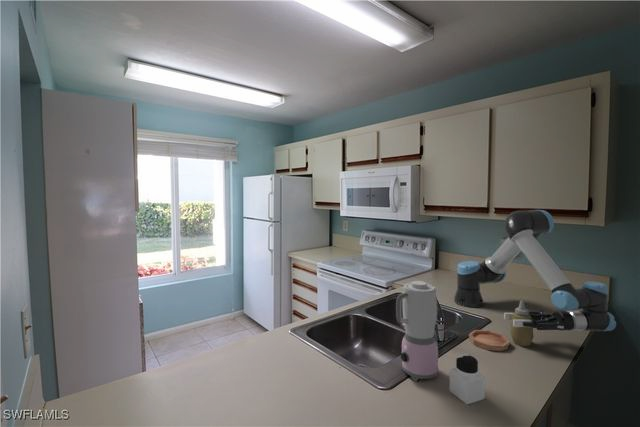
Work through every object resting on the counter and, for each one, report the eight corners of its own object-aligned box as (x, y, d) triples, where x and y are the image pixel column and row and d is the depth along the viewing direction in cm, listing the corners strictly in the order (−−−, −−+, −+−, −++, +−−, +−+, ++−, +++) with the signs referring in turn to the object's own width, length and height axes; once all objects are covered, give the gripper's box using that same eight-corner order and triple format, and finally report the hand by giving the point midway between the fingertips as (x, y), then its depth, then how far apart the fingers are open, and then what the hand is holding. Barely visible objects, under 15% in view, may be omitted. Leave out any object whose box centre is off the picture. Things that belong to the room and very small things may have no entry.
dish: (465, 334, 133) (465, 329, 133) (498, 335, 132) (498, 330, 132) (478, 350, 119) (478, 345, 119) (515, 351, 118) (515, 346, 118)
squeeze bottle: (537, 348, 120) (538, 304, 119) (515, 347, 121) (515, 303, 120) (527, 339, 128) (528, 298, 127) (506, 338, 129) (507, 297, 128)
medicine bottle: (485, 399, 91) (485, 361, 90) (467, 405, 89) (467, 366, 88) (466, 385, 98) (466, 349, 97) (449, 390, 95) (449, 354, 95)
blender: (422, 359, 114) (422, 276, 112) (446, 377, 102) (446, 285, 101) (387, 368, 108) (386, 281, 107) (408, 388, 97) (407, 291, 95)
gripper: (587, 340, 113) (522, 339, 115) (552, 319, 132) (497, 318, 134) (587, 321, 112) (522, 320, 115) (552, 303, 132) (497, 302, 134)
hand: (509, 319), depth 124 cm, fingers closed on squeeze bottle, 6 cm apart
